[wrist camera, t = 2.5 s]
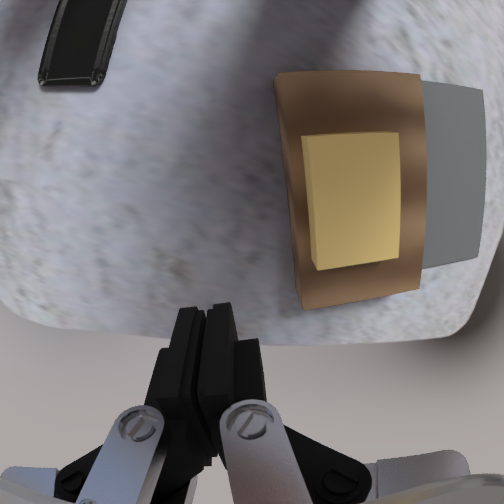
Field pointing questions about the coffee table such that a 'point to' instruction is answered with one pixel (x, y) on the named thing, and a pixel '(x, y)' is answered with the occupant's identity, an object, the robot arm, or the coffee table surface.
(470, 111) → the mat
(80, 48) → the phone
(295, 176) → the brown wooden block
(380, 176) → the tile
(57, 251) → the coffee table surface
